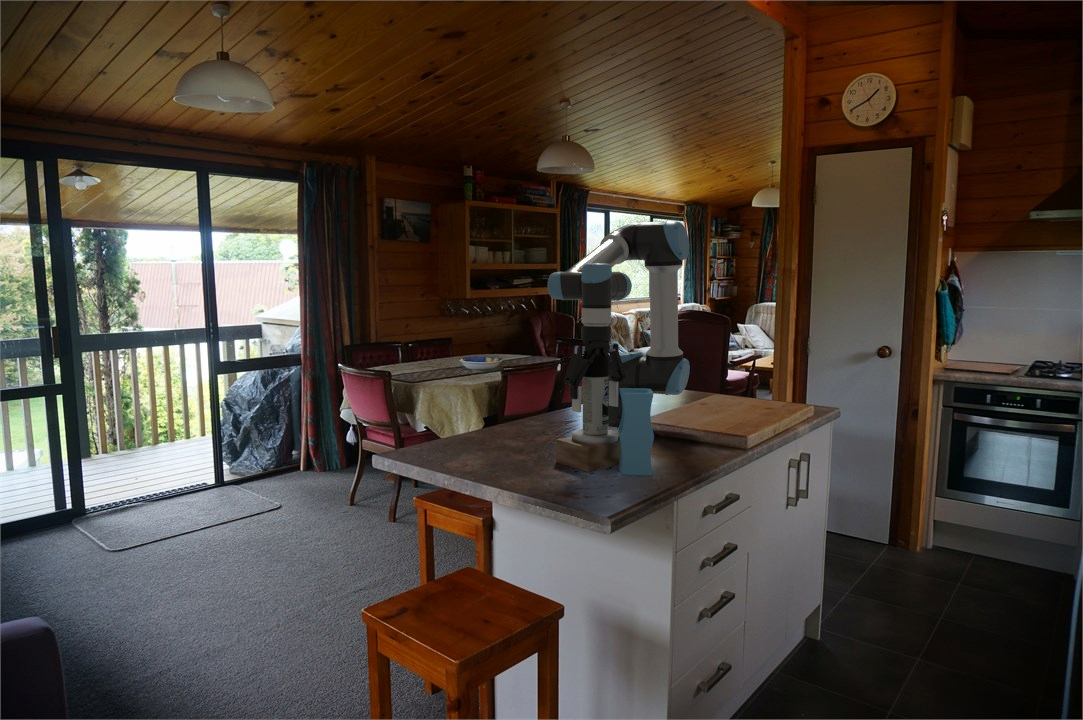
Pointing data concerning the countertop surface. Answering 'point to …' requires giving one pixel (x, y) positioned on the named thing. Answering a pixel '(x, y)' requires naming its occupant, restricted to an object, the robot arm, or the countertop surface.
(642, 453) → the vase
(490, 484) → the countertop surface
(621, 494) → the countertop surface
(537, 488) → the countertop surface
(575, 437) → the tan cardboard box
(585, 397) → the spray can
